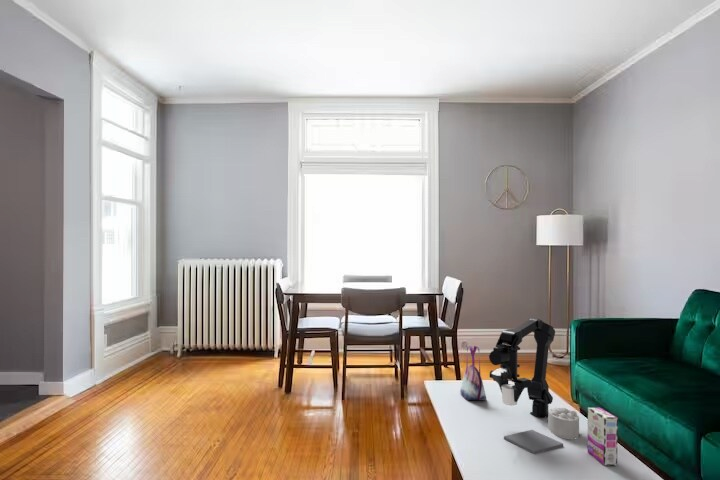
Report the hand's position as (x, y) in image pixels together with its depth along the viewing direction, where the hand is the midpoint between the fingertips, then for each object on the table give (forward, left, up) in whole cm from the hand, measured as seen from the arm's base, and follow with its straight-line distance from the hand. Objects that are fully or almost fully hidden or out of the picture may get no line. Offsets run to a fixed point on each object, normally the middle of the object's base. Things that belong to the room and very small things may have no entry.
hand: (510, 399), depth 200 cm
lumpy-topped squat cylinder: (-15, +15, -11) cm, 24 cm away
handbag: (-12, -37, -11) cm, 41 cm away
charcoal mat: (+4, +16, -11) cm, 20 cm away
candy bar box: (-7, +37, -11) cm, 39 cm away
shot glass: (0, 0, -2) cm, 2 cm away
